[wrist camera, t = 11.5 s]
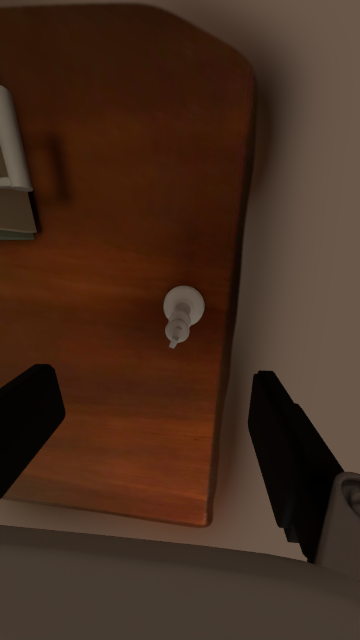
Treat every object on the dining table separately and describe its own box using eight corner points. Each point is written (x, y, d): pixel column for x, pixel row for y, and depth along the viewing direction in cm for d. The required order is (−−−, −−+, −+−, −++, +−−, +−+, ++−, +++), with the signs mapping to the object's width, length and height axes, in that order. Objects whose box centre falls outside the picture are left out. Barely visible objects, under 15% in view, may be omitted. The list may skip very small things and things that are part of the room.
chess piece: (210, 294, 23) (219, 324, 14) (195, 330, 25) (193, 379, 15) (171, 279, 23) (151, 299, 13) (158, 317, 24) (133, 358, 15)
